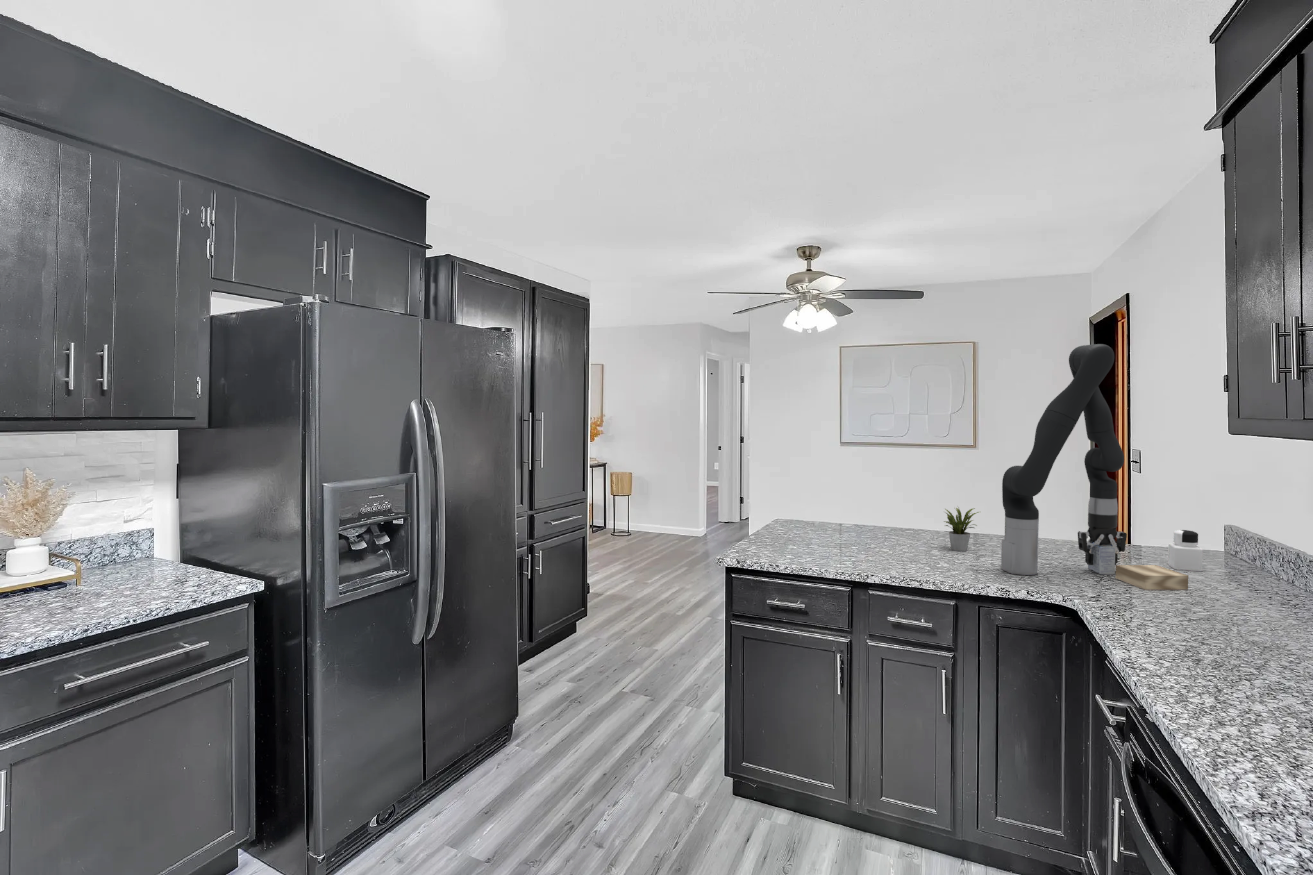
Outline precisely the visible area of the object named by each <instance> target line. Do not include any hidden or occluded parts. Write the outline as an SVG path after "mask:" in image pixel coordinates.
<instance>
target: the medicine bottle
mask: <svg viewBox="0 0 1313 875" xmlns="http://www.w3.org/2000/svg"><path fill="white" fill-rule="evenodd" d="M1198 545H1199V533H1198V532H1195V531H1193V530H1188V529H1177V530H1174V531H1173V541H1172V542H1169V543H1168V546H1167V548H1168V552H1167V553H1168V554H1167V565H1168V566H1169V567H1171V568H1172V569H1174V570H1176V571H1177V570H1178V571H1189V572H1191V571H1192V572H1203V567H1204V566H1203V561H1204V560H1203V559H1204V549H1203V548H1201V547H1200V546H1198Z"/></svg>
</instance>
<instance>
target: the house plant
mask: <svg viewBox="0 0 1313 875" xmlns="http://www.w3.org/2000/svg"><path fill="white" fill-rule="evenodd" d="M975 509H976V508H974V507H973V508H970V509H969V510H967V511H966V512H965V514H964V516H962V512H961V510H960V507H959V506H957V507H955V511H956V515H955V516H954V514H953V513H952V512H951V511H950V510H948V509H946V508H944V510H945V511H944V513H945V514H946V516H947V517H946V518H947V520H948V521H946V520H945V521H943V522H944V523H945V525H944V527H948V528H951V530H952V531H951V530H950V531H948V535H949V541H950V542H949V543H950V548H951V550H952V551H954V552H967V551H968V548H969V542H970V537H971V532H968V531H967V529H975V527H974V526H976V527H978V525H977V524H975V523H973V524H970V523H971V522H972V521H974V519H973V520H972V518H973V516H974V515H976V514H977V513H980V511H977V512H974V513H973V512H972V511H973V510H975ZM950 525H951V526H952V527H951V526H950Z"/></svg>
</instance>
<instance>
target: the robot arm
mask: <svg viewBox="0 0 1313 875" xmlns="http://www.w3.org/2000/svg"><path fill="white" fill-rule="evenodd" d="M1114 362H1115V352H1114V350H1113V348H1112V347H1110V346H1109V345H1107V344H1104V343H1097V344H1096V343H1094V344H1084V345H1080V346H1077V347H1075V348H1074V349H1073V350H1072V351H1071V352H1070V354H1069V357H1068V365H1069V369H1070V371H1071V375H1072V378H1073V379H1072V380H1071V382H1070V383H1069V384H1068V385H1067V387H1065V388H1064V389H1063V390H1062V391H1061V392H1059V393H1058V395H1057V396H1056V397H1054V398H1053V399H1052V401H1050V403H1048V405H1047V407H1045V409H1044V411H1043V414H1042V415H1041V417H1040V419H1039V421H1038V423H1037V424H1036V428H1035V434H1034V441H1033V447H1032V449H1031V452H1030V454H1029V455H1028V457H1027V459H1026V460H1025V462H1024V464H1023V465H1013V466H1010V467H1009V468H1007V469H1006V470H1005V472H1004V474H1003V476H1002V479H1001V480H1002V481H1001V482H1002V483H1001V485H1002V486H1001V490H1002V491H1001V492H1002V493H1001V494H1002V495H1001V496H1002V497H1001V498H1002V507H1003V509H1004V539H1001V548H1000V549H1001V552H1000V553H1001V556H1000V559H1001V560H1000V562H1001V563H1000V565H1001V566H1000V570H1003V571H1005V572H1007V573H1009V574H1011V575H1012V574H1013V575H1022V576H1033V575H1037V574H1038V571H1039V570H1038V567H1039V566H1038V565H1039V531H1040V530H1039V528H1040V525H1039V524H1040V523H1039V521H1040V520H1039V519H1040V511H1039V509H1038V507H1037V506H1036V504H1035V502H1034V497H1036V496H1037V495H1039V494H1040V492H1041V491H1042V490H1043V489H1044V487H1045V485H1046V483H1047V480H1048V478H1049V476H1050V473H1051V470H1052V468H1053V465H1054V464H1055V462H1056V460H1057V458H1058V456H1059V454H1060V453H1061V451H1062V450H1063V447H1064V446H1065V444H1066V442H1067V441H1068V439H1069V437H1070V435H1071V434H1072V432H1073V431H1074V429H1075V427H1076V425H1077V424H1078V422H1079V419H1080V418H1081V416H1082V414H1083V418H1084V425H1085V430H1086V436H1087V439H1088V441H1090V442H1093V443H1095V444H1096V445H1097V447H1093V448H1090V449H1089V450H1088V451H1087V452H1086V453H1085V455H1084V456H1085V457H1084V460H1083V461H1084V467H1085V471H1086V476H1087V479H1088V482H1089V499H1088V507H1087V516H1088V517H1087V526H1088V529H1087V530H1086V531H1079V530H1078V531H1077V541H1078V542H1077V543H1078V550H1079V551H1082V552H1084V553H1085V555H1084V556H1085V557H1084V558H1085V559H1084V561H1085V563H1086V564H1087V566H1088V565H1093V558H1094V554H1092V553H1093V552H1094V550H1095V548H1097V546H1098V545H1102V544H1106V545H1111V546H1113V547H1115V566H1116V565H1117V564H1118V562H1119V561H1118V554H1119V553H1122V552H1125V551H1126V545H1127V535H1128V534H1127V532H1125V531H1117V527H1118V511H1119V509H1118V507H1119V506H1118V484H1117V481H1116V480H1115V479H1113V478H1111V477H1109V476H1108V474H1107V472H1111V473H1114V472H1118V471H1120V470H1121V469H1122V468H1123V466H1124V463H1125V455H1124V451H1123V449H1122V447H1121V445H1120V443H1119V441H1118V438H1117V436H1116V434H1115V431H1114V430H1115V429H1114V423H1113V416H1112V412H1111V408H1110V406H1109V405H1108V403H1107V401H1106V399H1105V397H1104V395H1103V394H1102V392H1101V390H1100V384H1101V383H1102V382H1103V380H1104V379H1105V377H1106V376H1107V374H1108V373H1109V372H1110V371H1111V369H1112V367H1113V365H1114ZM1088 538H1089V539H1088ZM1115 538H1116V541H1115ZM1087 539H1088V540H1087ZM1093 542H1094V543H1093Z"/></svg>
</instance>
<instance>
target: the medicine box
mask: <svg viewBox="0 0 1313 875" xmlns="http://www.w3.org/2000/svg"><path fill="white" fill-rule="evenodd" d="M1093 543H1094V542H1093ZM1092 554H1094V558H1093V565H1088V564H1087V568H1088V569H1090V570H1091V571H1093V572H1095V573H1097V574H1099V575H1109V576H1110V575H1111V576H1114V575H1116V565H1115V547H1113V546H1111V545H1106V544H1102V545H1098V546H1097V548H1095V550H1094V552H1093V553H1092Z"/></svg>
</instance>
